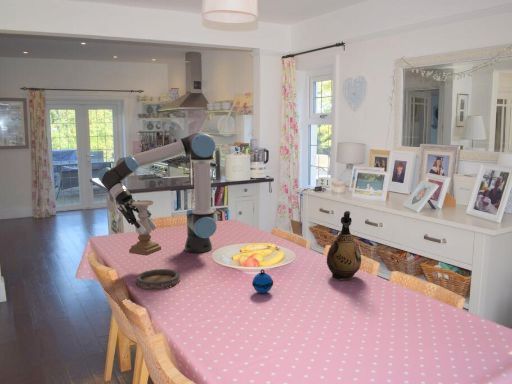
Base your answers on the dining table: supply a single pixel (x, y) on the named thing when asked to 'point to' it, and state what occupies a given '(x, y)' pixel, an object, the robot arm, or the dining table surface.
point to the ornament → (262, 282)
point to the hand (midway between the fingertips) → (149, 230)
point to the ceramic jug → (344, 253)
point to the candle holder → (145, 243)
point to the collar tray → (157, 279)
